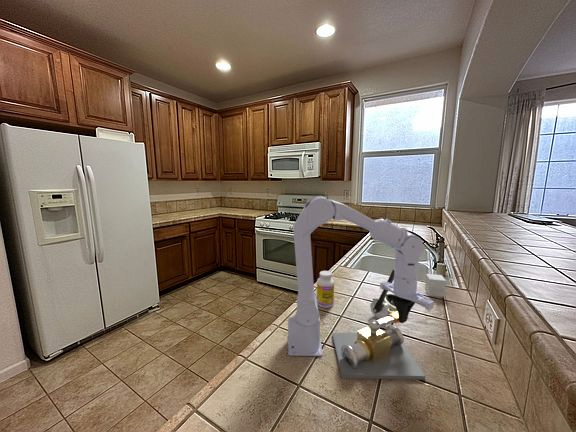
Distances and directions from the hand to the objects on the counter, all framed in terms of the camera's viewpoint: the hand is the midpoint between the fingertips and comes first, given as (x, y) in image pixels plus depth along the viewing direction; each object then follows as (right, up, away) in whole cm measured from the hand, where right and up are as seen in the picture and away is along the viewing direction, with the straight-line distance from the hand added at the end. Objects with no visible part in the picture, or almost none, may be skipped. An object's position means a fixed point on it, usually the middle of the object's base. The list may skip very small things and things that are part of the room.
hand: (402, 321), depth 66 cm
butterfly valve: (+5, -6, +20) cm, 21 cm away
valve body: (-9, -9, -1) cm, 12 cm away
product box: (+30, -3, +33) cm, 44 cm away
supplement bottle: (-18, -5, +26) cm, 32 cm away
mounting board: (-9, -9, -1) cm, 12 cm away
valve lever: (-4, 0, 0) cm, 4 cm away
